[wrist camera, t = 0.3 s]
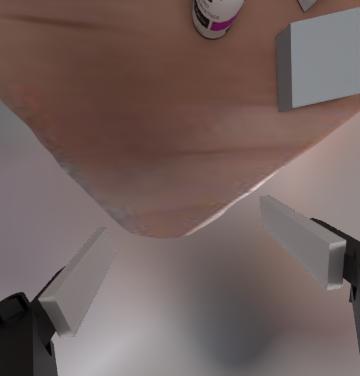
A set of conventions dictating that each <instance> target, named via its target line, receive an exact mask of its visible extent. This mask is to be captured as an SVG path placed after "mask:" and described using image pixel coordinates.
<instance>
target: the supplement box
mask: <svg viewBox="0 0 360 376" xmlns="http://www.w3.org/2000/svg"><path fill="white" fill-rule="evenodd" d="M298 1H299V3H300V5H301V7H302V9H303V11H304V12H305V11H306V10H307V9H309V8H310V7H311V6H312V5H313V4H314V3H315V2H316V1H317V0H298Z"/></svg>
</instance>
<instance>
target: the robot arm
mask: <svg viewBox="0 0 360 376" xmlns="http://www.w3.org/2000/svg"><path fill="white" fill-rule="evenodd" d="M260 209H261V222H262V227H263V228H264V229H265V230H266V231H267V232H268V233H269V234H270V235H271V236H272V237H273V238H274V239H276V241H277V242H278V243H280V245H281V246H283V247H284V248H285V249H286V250H287V251H288V252H289V253H290V254H291V255H292V256H293V257H294V258H295V259H296V260H297V261H298V262H299V263H300V264H301V265H302V266H303V267H304V268H305V269H306V270H307V271H308V272H309V273H310V274H311V275H312V276H313V277H314V278H315V279H316V280H317V281H318V282H319V283H320V284H321V285H322V286H323V287H324V288H325V289H326V290H332V289H338V288H342V286H343V278H344V279H346V280H347V281H348V282H349V283H350V284H351V290H350V299H349V302H351V303H353V311H354V318H355V324H356V331H357V338H358V345H359V352H360V241H358V240H356V239H354V238H352V237H350V236H349V235H347V234H345V233H343V232H341V231H340V230H337V229H336V228H334V227H332V226H330V225H329V224H327V223H325V222H323V221H321V220H317V219H314V218H311V219H309V218H307V217H305V216H304V215H302V214H300V213H298V212H297V211H295V210H293V209H292V208H290V207H288V206H287V205H285V204H283V203H281V202H280V201H278V200H276V199H274V198H273V197H271V196H269V195H267V196H261V197H260ZM115 256H116V252H115V249H114V246H113V243H112V240H111V238H110V235H109V232H108V229H107V227H104V228H99V229H97V230H96V232H95V233H94V234H93V235H92V236H91V238H90V239H89V240H88V241H87V242H86V243H85V244H84V246H83V247H82V248H81V249H80V250H79V251H78V253H77V254H76V255H75V256H74V257H73V258H72V260H71V261H70V262H69V263H68V264H67V265H66V266H65V267H63V268H62V269H61V270H60V271H58V272H57V273H56V274H55V276H54V277H53V278H52V279H51V280H50V281H49V282H48V283H47V285H46V286H45V287H44V288H43V289H42V290H41V291H40V292H39V293H38V295H37V296H36V297H35V298H34V299H33V300H32V302H31V303H30V302H29V301H28V299H27V297H26V295H25V294H24V293H23V292H19V293H16V294H13V295H11V296H9V297H7V298H5V299H4V300H2V301H1V302H0V376H58V375H57V366H56V359H55V352H54V344H53V342H52V341H51V338H52V336H53V335H54V333H55V331H56V332H57V334H58V336H59V337H60V339H64V338H69V337H74V336H75V335H76V333H77V330H78V329H79V327H80V325H81V323H82V321H83V319H84V317H85V315H86V313H87V311H88V309H89V307H90V305H91V303H92V301H93V299H94V297H95V295H96V293H97V291H98V289H99V287H100V285H101V283H102V281H103V279H104V277H105V275H106V273H107V271H108V269H109V268H110V265H111V263H112V261H113V260H114V258H115Z"/></svg>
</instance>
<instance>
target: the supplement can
mask: <svg viewBox="0 0 360 376" xmlns="http://www.w3.org/2000/svg"><path fill="white" fill-rule="evenodd" d="M244 1H245V0H194V1H193V8H192V14H193V21H194V24H195V27H196V28H197V30H198V31H199V33H201V34H202V35H203V36H205V37H207V38H212V39H214V38H219V37H221V36H223V35H224V34H226V33H227V32H228V30H229V29H230V28H231V26H232V24H233V22H234V20H235V18H236V16H237V14H238V12H239V10H240V9H241V7H242V5H243V3H244Z"/></svg>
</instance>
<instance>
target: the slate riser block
mask: <svg viewBox="0 0 360 376" xmlns="http://www.w3.org/2000/svg"><path fill="white" fill-rule="evenodd" d="M276 59H277V82H278V105H279V112H280V111H284V110H289V109H293V108H298V107H303V106H307V105H312V104H316V103H321V102H325V101H330V100H335V99H339V98H343V97H347V96H351V95H355V94H359V93H360V7H358V8H354V9H349V10H345V11H341V12H336V13H332V14H328V15H323V16H319V17H315V18H311V19H306V20H302V21H298V22H293V23H290V24H289V25H288V26H287V27H286V28H285V29H284V30H283V31H282V32H281V33H280V34H279V35H278V36H277V37H276Z"/></svg>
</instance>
